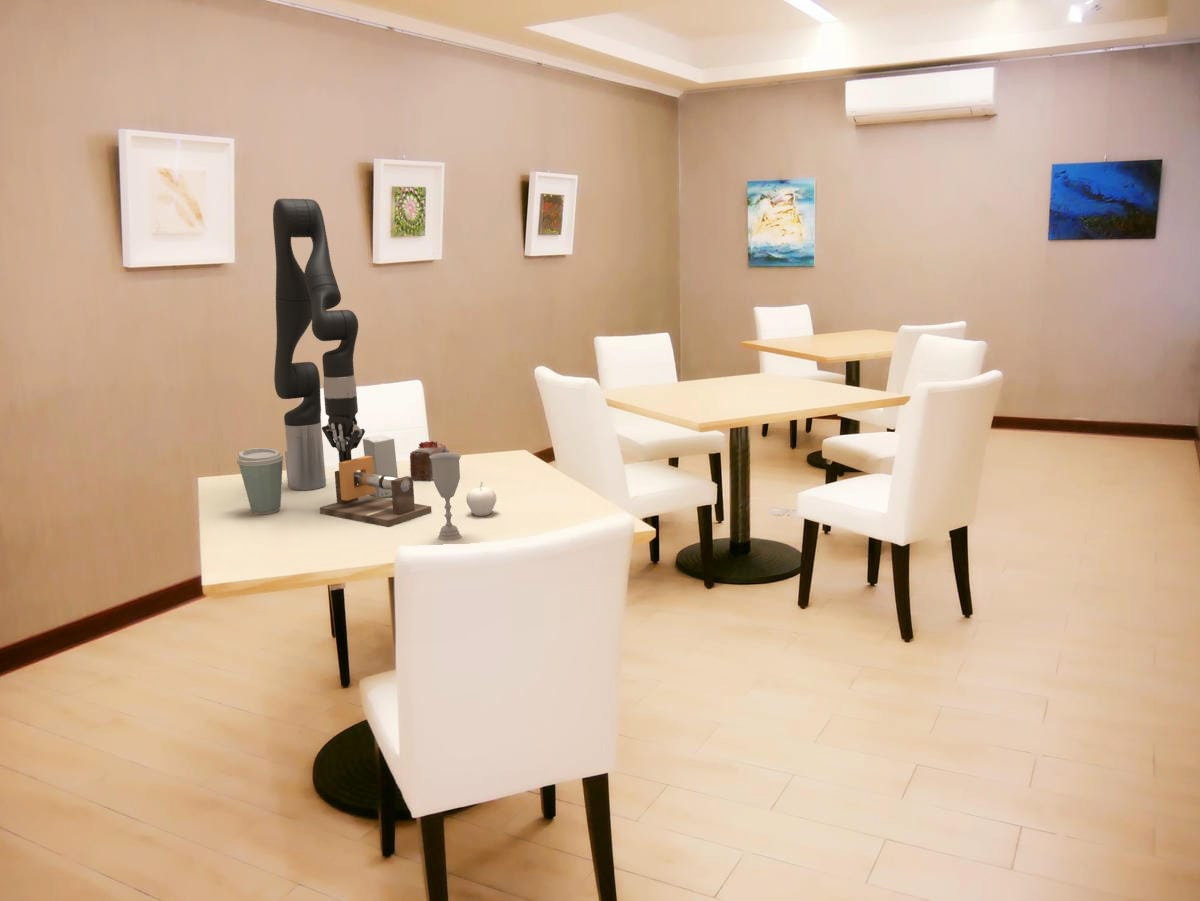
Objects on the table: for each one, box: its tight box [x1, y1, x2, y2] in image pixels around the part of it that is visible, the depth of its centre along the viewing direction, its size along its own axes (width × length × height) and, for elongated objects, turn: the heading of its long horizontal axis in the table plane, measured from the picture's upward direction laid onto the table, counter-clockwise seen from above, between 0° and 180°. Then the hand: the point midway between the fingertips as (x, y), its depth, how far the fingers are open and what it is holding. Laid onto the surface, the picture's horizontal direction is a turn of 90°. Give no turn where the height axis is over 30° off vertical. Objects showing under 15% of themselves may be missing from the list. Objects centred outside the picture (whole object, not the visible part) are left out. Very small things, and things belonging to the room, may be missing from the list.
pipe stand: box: [319, 470, 432, 528], centre depth 230 cm, size 23×14×10 cm, turn 57°
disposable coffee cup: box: [236, 447, 284, 516], centre depth 232 cm, size 11×11×15 cm
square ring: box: [338, 456, 375, 501], centre depth 232 cm, size 2×9×9 cm, turn 146°
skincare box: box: [362, 434, 399, 498], centre depth 247 cm, size 8×6×15 cm
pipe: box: [353, 471, 410, 492], centre depth 229 cm, size 21×3×3 cm, turn 57°
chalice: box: [429, 452, 462, 541], centre depth 208 cm, size 7×7×18 cm
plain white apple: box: [465, 481, 497, 517], centre depth 227 cm, size 7×7×8 cm
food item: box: [409, 440, 450, 482], centre depth 268 cm, size 14×8×10 cm, turn 170°
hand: (345, 465), depth 233 cm, fingers closed
